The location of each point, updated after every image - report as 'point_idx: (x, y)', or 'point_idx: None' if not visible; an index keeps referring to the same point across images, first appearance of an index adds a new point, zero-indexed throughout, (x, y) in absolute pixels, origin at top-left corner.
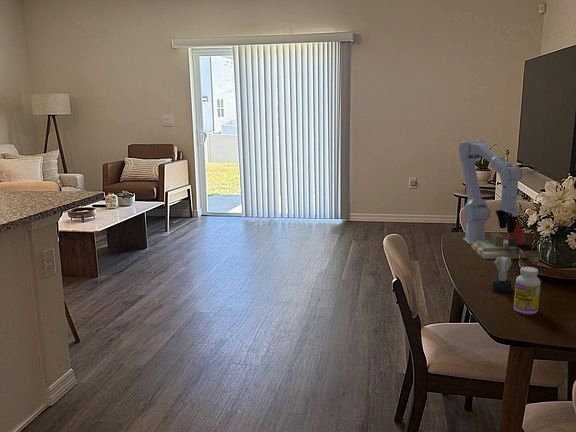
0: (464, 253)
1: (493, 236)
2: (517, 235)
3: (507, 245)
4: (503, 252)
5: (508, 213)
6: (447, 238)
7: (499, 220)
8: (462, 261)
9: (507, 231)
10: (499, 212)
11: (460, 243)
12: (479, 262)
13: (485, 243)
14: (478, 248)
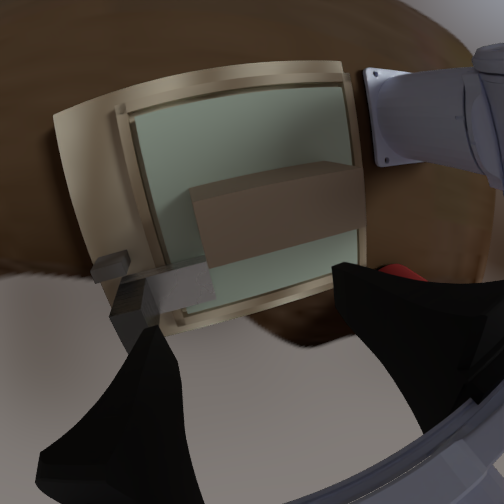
0: (161, 13)
1: (260, 183)
2: None
3: (160, 272)
4: (108, 233)
5: (422, 414)
6: (426, 21)
7: (384, 289)
8: (16, 29)
9: (154, 328)
10: (461, 346)
11: (369, 36)
12: (4, 105)
13: (260, 125)
14: (176, 75)
